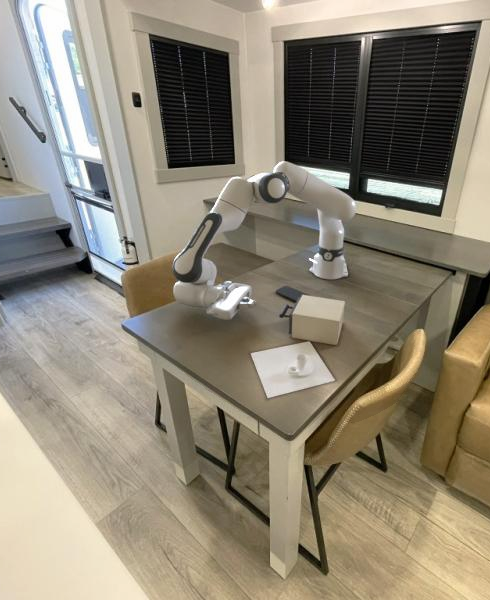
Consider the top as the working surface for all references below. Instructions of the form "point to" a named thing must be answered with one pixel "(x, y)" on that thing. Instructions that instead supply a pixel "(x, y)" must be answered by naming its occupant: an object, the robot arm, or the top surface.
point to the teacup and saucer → (290, 368)
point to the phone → (290, 293)
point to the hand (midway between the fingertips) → (254, 304)
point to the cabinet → (318, 319)
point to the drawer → (289, 314)
